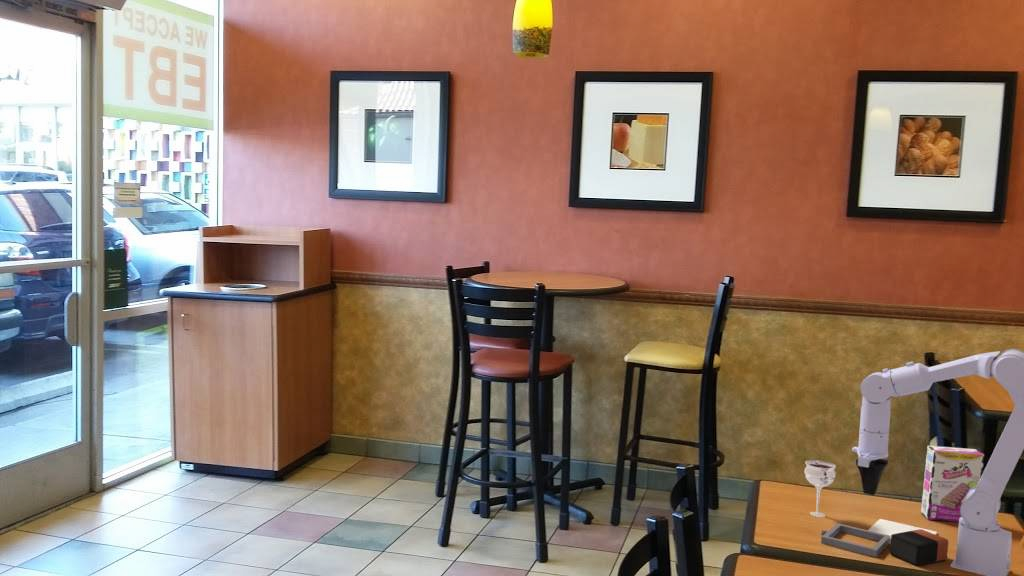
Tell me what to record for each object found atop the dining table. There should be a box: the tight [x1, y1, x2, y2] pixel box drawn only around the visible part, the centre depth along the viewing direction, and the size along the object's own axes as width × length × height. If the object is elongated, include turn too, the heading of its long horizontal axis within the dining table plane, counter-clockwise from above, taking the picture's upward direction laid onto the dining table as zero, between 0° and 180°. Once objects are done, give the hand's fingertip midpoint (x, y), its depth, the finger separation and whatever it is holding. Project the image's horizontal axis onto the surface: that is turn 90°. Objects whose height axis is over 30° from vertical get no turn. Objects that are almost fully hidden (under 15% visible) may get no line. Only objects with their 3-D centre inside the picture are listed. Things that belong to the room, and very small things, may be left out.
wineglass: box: [803, 459, 837, 518], centre depth 202 cm, size 7×7×12 cm
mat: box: [868, 518, 938, 541], centre depth 192 cm, size 12×12×1 cm
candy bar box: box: [920, 445, 985, 523], centre depth 203 cm, size 11×5×16 cm, turn 84°
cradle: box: [820, 523, 891, 558], centre depth 186 cm, size 12×11×2 cm
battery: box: [889, 529, 949, 566], centre depth 179 cm, size 4×7×10 cm
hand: (869, 493), depth 186 cm, fingers closed
